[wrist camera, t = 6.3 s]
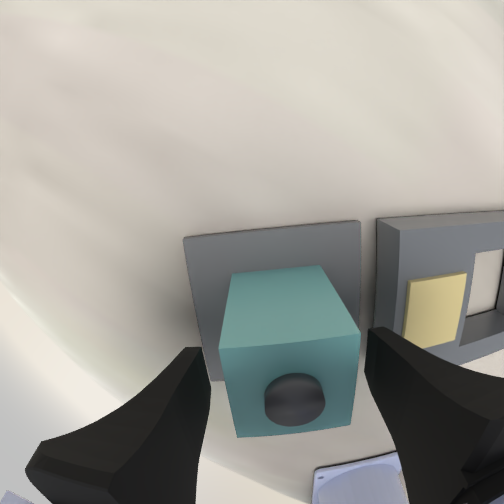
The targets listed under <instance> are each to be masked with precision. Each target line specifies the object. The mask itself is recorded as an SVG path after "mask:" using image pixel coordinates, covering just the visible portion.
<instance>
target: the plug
mask: <svg viewBox="0 0 504 504" xmlns="http://www.w3.org/2000/svg"><path fill="white" fill-rule="evenodd" d="M360 338H361V332H360V331H359V329H358V327H357V326H356V324H355V322H354V320H353V319H352V317H351V315H350V314H349V312H348V310H347V309H346V307H345V305H344V304H343V302H342V300H341V299H340V297H339V295H338V294H337V292H336V290H335V289H334V287H333V285H332V284H331V282H330V280H329V279H328V277H327V276H326V274H325V272H324V271H323V269H322V267H321V266H320V265H313V266H304V267H294V268H284V269H274V270H264V271H254V272H243V273H233V274H232V277H231V282H230V287H229V293H228V298H227V304H226V309H225V315H224V320H223V326H222V331H221V337H220V342H219V348H218V349H219V354H220V360H221V365H222V370H223V375H224V379H225V384H226V389H227V394H228V398H229V403H230V408H231V412H232V417H233V421H234V426H235V430H236V434H237V438H240V437H259V436H272V435H283V434H293V433H301V432H309V431H316V430H323V429H329V428H335V427H341V426H346V425H350V423H351V417H352V410H353V403H354V396H355V388H356V379H357V370H358V361H359V350H360Z"/></svg>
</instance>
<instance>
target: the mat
mask: <svg viewBox="0 0 504 504" xmlns="http://www.w3.org/2000/svg"><path fill="white" fill-rule="evenodd" d="M183 244H184V251H185V256H186V262H187V268H188V274H189V279H190V285H191V290H192V295H193V301H194V306H195V311H196V316H197V321H198V325H199V330H200V335H201V340H202V344H203V349H204V353H205V358H206V362H207V367H208V371H209V375H210V379H211V381H225V379H224V375H223V370H222V365H221V360H220V354H219V349H218V348H219V342H220V337H221V331H222V326H223V320H224V315H225V309H226V304H227V298H228V293H229V287H230V282H231V277H232V274H233V273H243V272H254V271H264V270H274V269H284V268H294V267H304V266H313V265H320V266H321V267H322V269H323V271H324V272H325V274H326V276H327V277H328V279H329V280H330V282H331V284H332V285H333V287H334V289H335V290H336V292H337V294H338V295H339V297H340V299H341V300H342V302H343V304H344V305H345V307H346V309H347V310H348V312H349V314H350V315H351V317H352V319H353V320H354V322H355V324H356V326H357V327H358V329H359V312H360V285H361V222H360V221H358V220H357V221H345V222H333V223H322V224H311V225H300V226H289V227H279V228H268V229H258V230H248V231H239V232H229V233H220V234H210V235H201V236H192V237H184V239H183Z"/></svg>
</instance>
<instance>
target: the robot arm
mask: <svg viewBox="0 0 504 504" xmlns="http://www.w3.org/2000/svg"><path fill="white" fill-rule="evenodd" d="M364 373H365V376H366V379H367V382H368V385H369V388H370V392H371V394H372V396H373V398H374V400H375V402H376V405H377V407H378V409H379V411H380V413H381V415H382V417H383V419H384V421H385V423H386V425H387V427H388V430H389V432H390V434H391V436H392V439H393V441H394V444H395V447H396V450H397V452H394V453H391V454H387V455H383V456H379V457H376V458H371V459H367V460H363V461H359V462H354V463H349V464H344V465H339V466H333V467H327V468H321V469H318V470H316V471H315V473H314V484H313V494H312V504H504V378H501V377H496V376H491V375H487V374H483V373H479V372H475V371H472V370H469V369H466V368H463V367H461V366H458V365H455V364H453V363H450V362H448V361H446V360H444V359H441V358H439V357H437V356H435V355H433V354H431V353H429V352H428V351H426V350H424V349H422V348H420V347H418V346H417V345H415V344H413V343H412V342H410V341H408V340H407V339H405V338H403V337H402V336H400V335H398V334H396V333H395V332H393V331H391V330H390V329H388V328H386V327H384V326H382V327H376V328H371V329H368V340H367V350H366V360H365V368H364ZM210 398H211V386H210V381H209V377H208V373H207V369H206V365H205V360H204V356H203V352H202V347H185V348H184V349H183V350H182V351H181V352H180V353H179V355H178V356H177V357H176V358H175V359H174V360H173V361H172V362H171V363H170V364H169V365H168V366H167V367H166V368H165V369H164V370H163V371H162V372H161V373H160V374H159V375H158V376H157V377H156V378H155V379H154V380H153V381H152V382H151V383H150V384H149V385H147V386H146V387H145V388H144V389H143V390H142V391H141V392H140V393H138V394H137V395H136V396H135V397H133V398H132V399H131V400H129V401H128V402H127V403H125V404H124V405H123V406H121V407H120V408H118V409H116V410H115V411H113V412H111V413H110V414H108V415H106V416H105V417H103V418H101V419H99V420H98V421H96V422H94V423H92V424H90V425H88V426H85V427H83V428H81V429H78V430H76V431H73V432H71V433H68V434H65V435H62V436H59V437H56V438H52V439H49V440H45V441H41V443H40V445H39V446H38V448H37V450H36V451H35V453H34V454H33V456H32V458H31V459H30V461H29V463H28V465H27V466H26V468H25V473H26V475H27V477H28V479H29V480H30V482H32V484H33V485H34V486H35V487H36V488H37V489H38V490H39V491H40V492H41V493H42V494H43V495H44V496H45V497H46V498H47V499H48V500H49V501H50V502H51V503H52V504H195V501H196V484H197V472H198V463H199V457H200V452H201V448H202V443H203V439H204V434H205V429H206V425H207V420H208V415H209V410H210ZM401 469H402V471H403V475H404V479H405V484H406V488H407V493H408V498H409V503H408V500H407V498H406V495H405V492H404V490H403V487H402V484H401V482H400V479H399V476H398V475H399V473H400V471H401ZM0 504H33V503H32V502H30V501H29V500H27V499H25V498H22V497H20V496H19V495H17V494H15V493H13V492H11V491H6V493H5V495H4V496H3V498H2V500H1V502H0Z"/></svg>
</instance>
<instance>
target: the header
mask: <svg viewBox="0 0 504 504" xmlns="http://www.w3.org/2000/svg"><path fill="white" fill-rule="evenodd" d="M499 249H504V211H486V212H469V213H453V214H437V215H423V216H408V217H395V218H382V219H377V277H376V297H375V312H374V325H373V328H376V327H382V326H384V327H386V328H388V329H390V330H391V331H393V332H395V333H396V334H398V335H400V336H402V337H403V338H405V339H407V340H408V341H410V342H412V343H413V344H415V345H417V346H418V347H420V348H422V349H424V350H426V351H428V352H429V353H431V354H433V355H435V356H437V357H439V358H441V359H444V360H446V361H448V362H450V363H453V364H455V365H461V364H464V363H467V362H470V361H473V360H476V359H478V358H481V357H484V356H486V355H489V354H492V353H494V352H497V351H499V350H502V349H504V268H503V274H502V280H501V286H500V291H499V296H498V301H497V306H496V310H492V311H489V312H486V313H482V314H479V315H475V316H472V317H468V318H466V313H467V308H468V302H469V297H470V291H471V285H472V278H473V271H474V263H475V254H476V253H480V252H486V251H493V250H499Z"/></svg>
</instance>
